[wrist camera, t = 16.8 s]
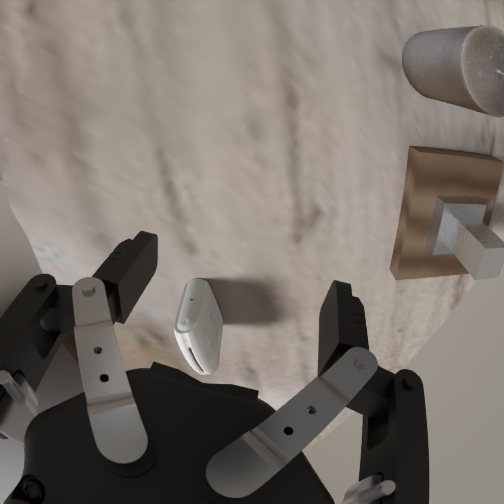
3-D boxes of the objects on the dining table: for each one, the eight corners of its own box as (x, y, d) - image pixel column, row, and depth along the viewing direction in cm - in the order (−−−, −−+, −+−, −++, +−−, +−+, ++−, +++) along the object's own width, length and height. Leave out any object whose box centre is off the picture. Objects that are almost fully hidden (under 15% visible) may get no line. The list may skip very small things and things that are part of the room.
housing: (436, 195, 38) (479, 235, 28) (477, 197, 38) (521, 234, 28) (425, 245, 42) (460, 292, 33) (465, 243, 42) (501, 286, 32)
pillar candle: (460, 101, 33) (533, 125, 20) (402, 96, 34) (470, 116, 21) (457, 36, 28) (531, 38, 15) (396, 26, 29) (465, 13, 16)
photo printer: (182, 279, 49) (166, 338, 39) (208, 275, 49) (197, 334, 38) (202, 325, 54) (193, 383, 44) (226, 322, 54) (221, 380, 43)
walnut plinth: (409, 145, 37) (419, 152, 35) (491, 155, 37) (502, 162, 34) (389, 268, 48) (395, 280, 45) (465, 263, 47) (473, 273, 45)
